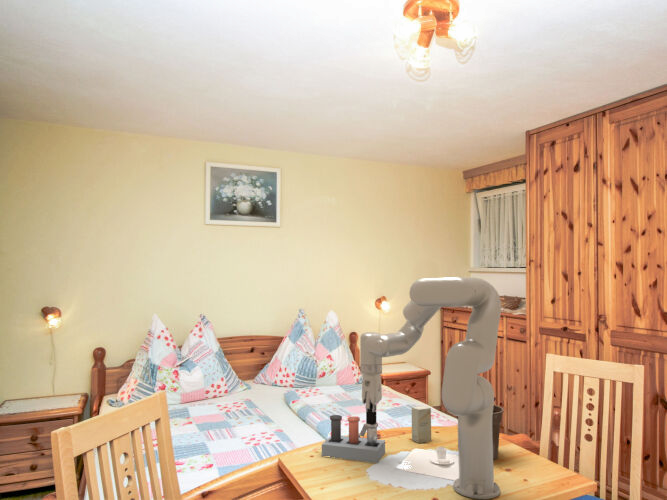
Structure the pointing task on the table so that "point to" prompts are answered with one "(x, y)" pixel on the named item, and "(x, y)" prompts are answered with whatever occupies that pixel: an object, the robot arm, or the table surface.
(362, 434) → the grey white bent piece
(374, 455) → the socket board
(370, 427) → the plug grey
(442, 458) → the teacup and saucer
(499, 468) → the table surface
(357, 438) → the plug red
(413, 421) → the skincare box
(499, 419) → the plant pot
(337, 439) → the plug black
